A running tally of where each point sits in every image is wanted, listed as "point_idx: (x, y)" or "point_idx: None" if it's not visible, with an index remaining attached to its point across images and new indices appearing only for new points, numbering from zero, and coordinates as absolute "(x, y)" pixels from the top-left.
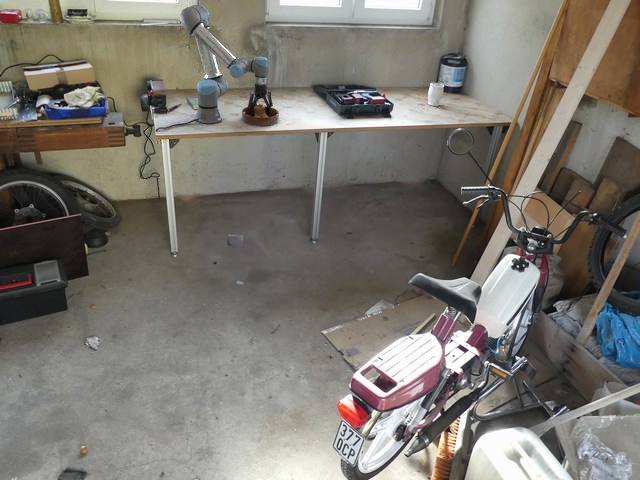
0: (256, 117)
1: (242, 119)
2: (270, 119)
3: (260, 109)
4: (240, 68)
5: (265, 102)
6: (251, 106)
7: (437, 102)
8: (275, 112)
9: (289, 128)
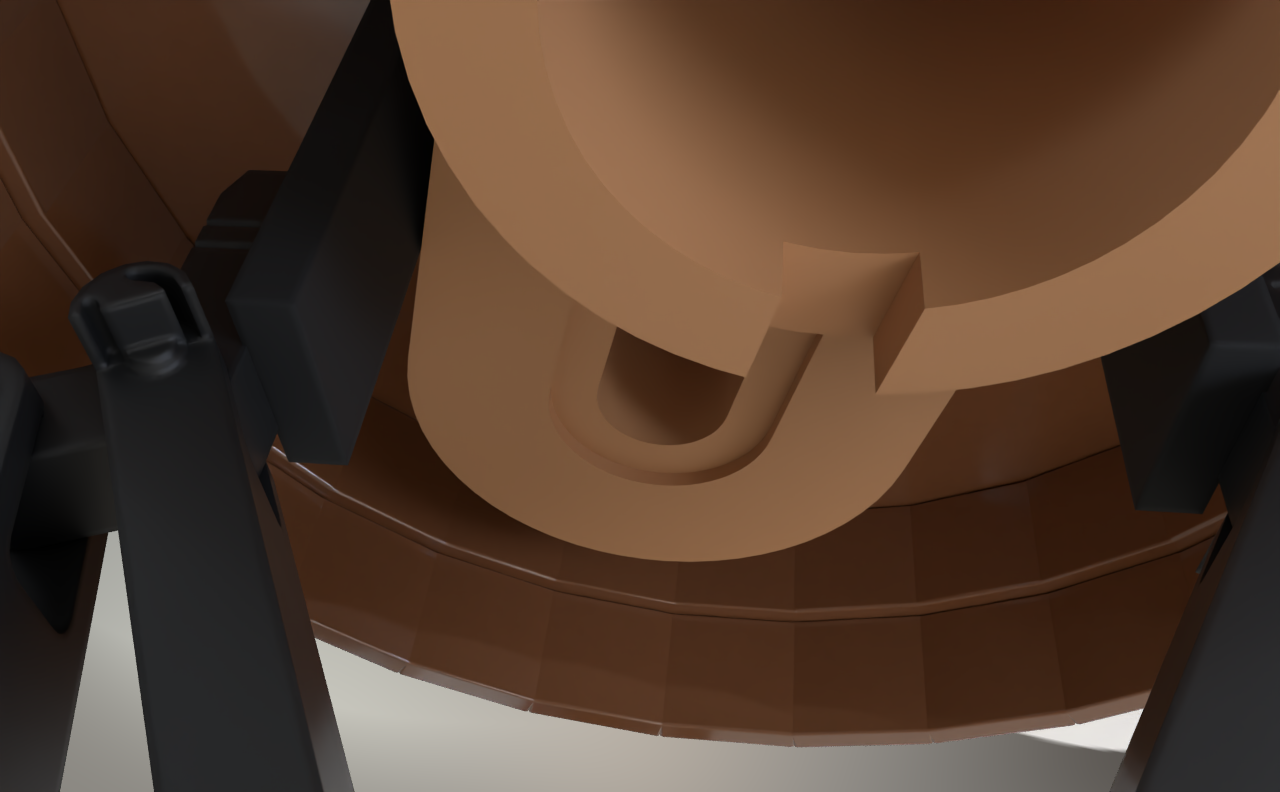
0: (320, 638)
1: None
2: (774, 678)
3: (790, 315)
4: None
5: (1158, 710)
6: (87, 629)
7: None
8: None
9: (1091, 726)
